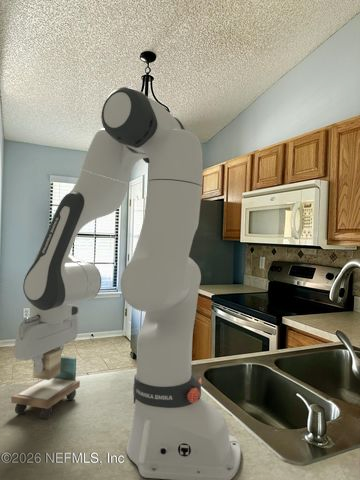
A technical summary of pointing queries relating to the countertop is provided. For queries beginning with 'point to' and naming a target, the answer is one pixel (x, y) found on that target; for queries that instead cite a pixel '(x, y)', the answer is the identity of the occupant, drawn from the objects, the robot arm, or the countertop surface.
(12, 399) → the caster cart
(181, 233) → the robot arm
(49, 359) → the maple block
